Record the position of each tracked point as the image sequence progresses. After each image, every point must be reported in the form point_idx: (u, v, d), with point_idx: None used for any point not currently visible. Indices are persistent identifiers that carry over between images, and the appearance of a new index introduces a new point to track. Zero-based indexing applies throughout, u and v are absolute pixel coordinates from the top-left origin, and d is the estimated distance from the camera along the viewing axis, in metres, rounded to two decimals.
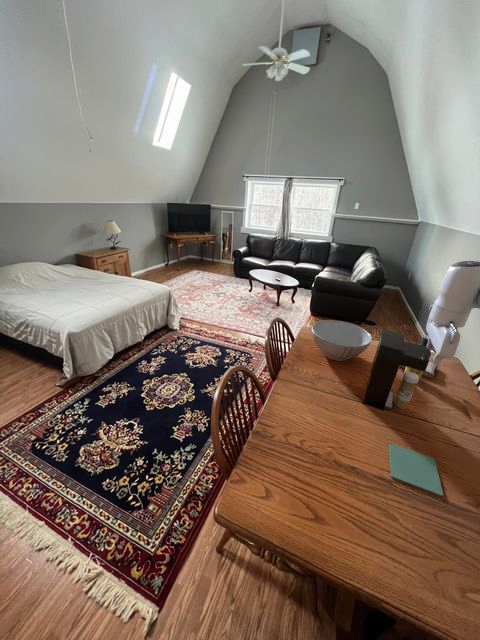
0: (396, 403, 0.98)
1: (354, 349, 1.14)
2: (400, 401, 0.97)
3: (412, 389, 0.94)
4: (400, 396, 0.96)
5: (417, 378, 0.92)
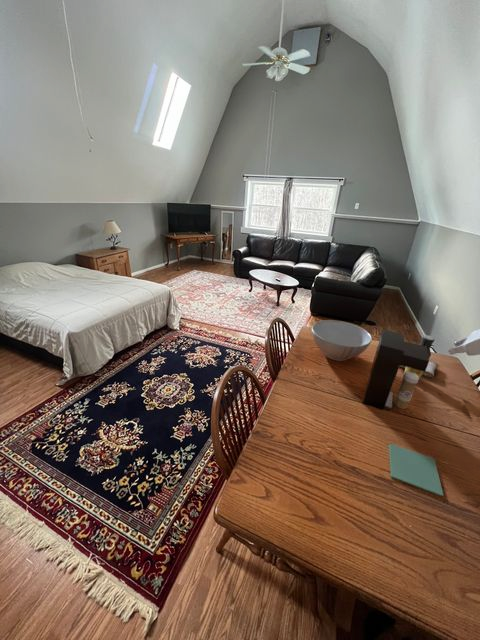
0: (396, 403, 0.98)
1: (354, 349, 1.14)
2: (400, 401, 0.97)
3: (412, 389, 0.94)
4: (400, 396, 0.96)
5: (417, 378, 0.92)
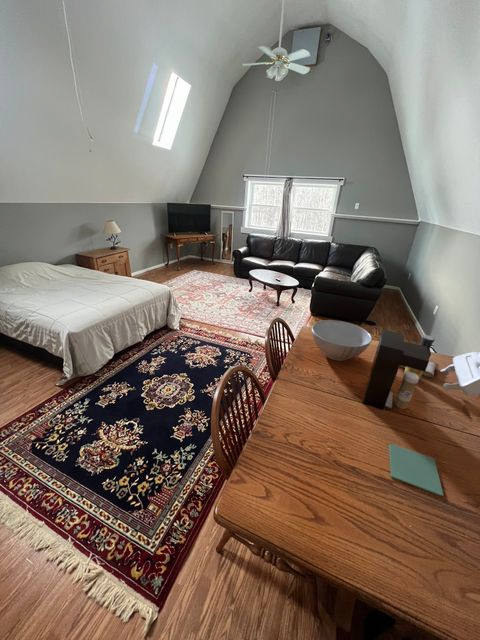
0: (396, 403, 0.98)
1: (354, 349, 1.14)
2: (400, 401, 0.97)
3: (412, 389, 0.94)
4: (400, 396, 0.96)
5: (417, 378, 0.92)
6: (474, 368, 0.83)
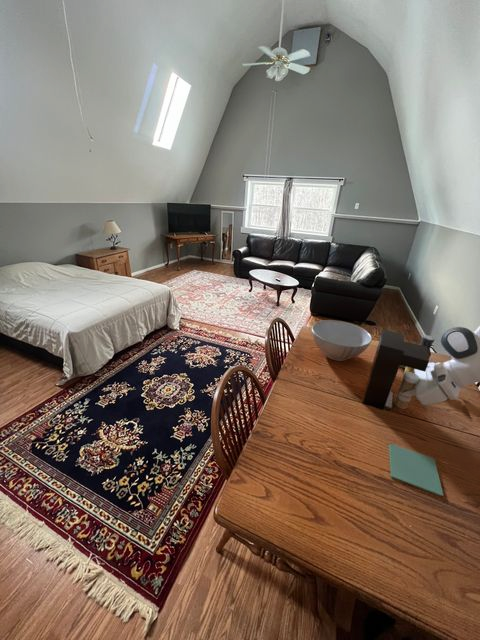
0: (396, 403, 0.98)
1: (354, 349, 1.14)
2: (400, 401, 0.97)
3: (412, 389, 0.94)
4: (400, 396, 0.96)
5: (417, 378, 0.92)
6: (431, 379, 0.90)
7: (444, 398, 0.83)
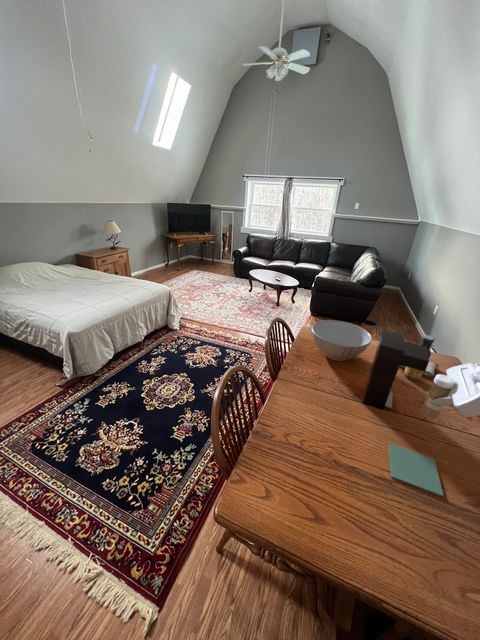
0: (424, 412, 0.81)
1: (354, 349, 1.14)
2: (430, 410, 0.80)
3: (445, 395, 0.77)
4: (430, 403, 0.79)
5: (452, 382, 0.75)
6: (471, 384, 0.72)
7: None
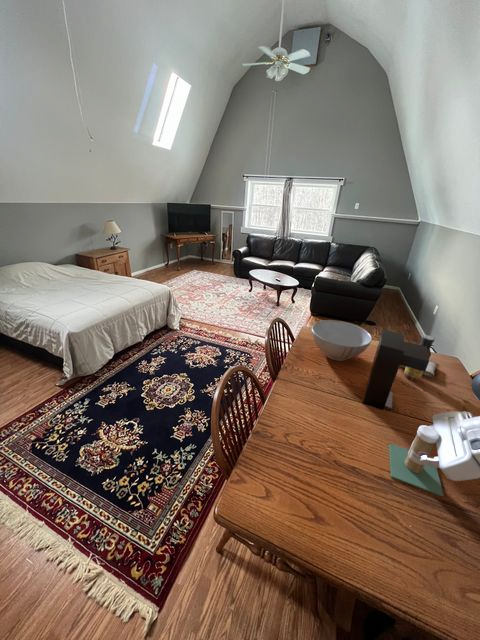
0: (407, 465, 0.75)
1: (354, 349, 1.14)
2: (413, 464, 0.73)
3: (429, 450, 0.70)
4: (413, 457, 0.73)
5: (436, 436, 0.69)
6: (458, 439, 0.66)
7: None
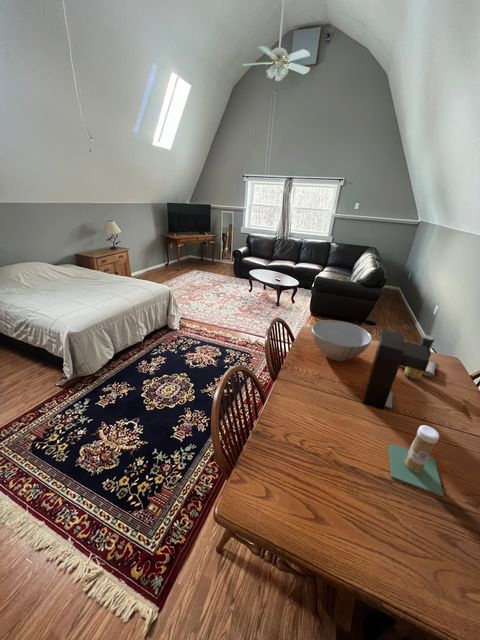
0: (407, 465, 0.75)
1: (354, 349, 1.14)
2: (413, 464, 0.73)
3: (430, 450, 0.70)
4: (414, 457, 0.73)
5: (437, 436, 0.69)
6: None
7: None
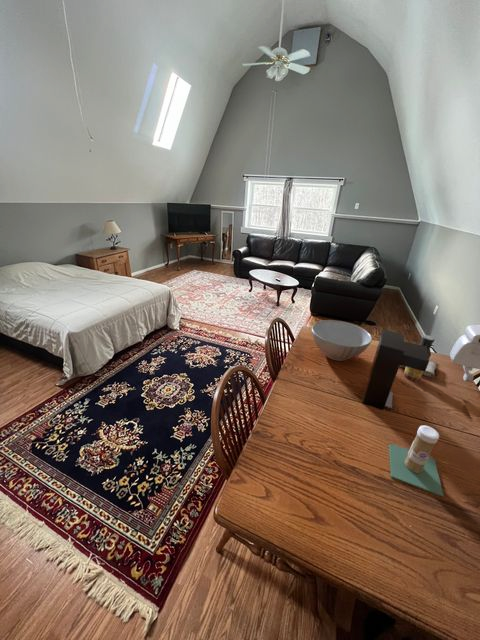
0: (407, 465, 0.75)
1: (354, 349, 1.14)
2: (413, 464, 0.73)
3: (429, 450, 0.70)
4: (414, 457, 0.73)
5: (437, 436, 0.69)
6: None
7: (465, 342, 0.66)
